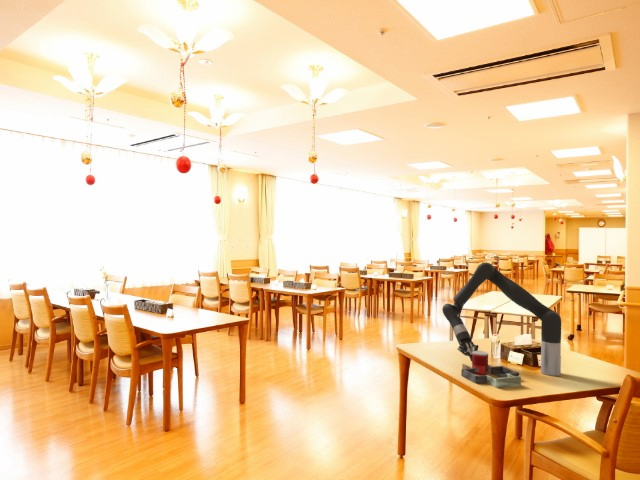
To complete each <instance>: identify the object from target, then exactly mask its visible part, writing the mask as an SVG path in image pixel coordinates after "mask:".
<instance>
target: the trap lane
mask: <svg viewBox="0 0 640 480" xmlns="http://www.w3.org/2000/svg"><path fill="white" fill-rule="evenodd" d="M461 366H462V369H461V375H460V376H461V377H463V378H464V379H466V380H469V381H470V382H473V384H477V385H479V384H489V385H490V386H493V387H494V388H496V389H504V388H506V387H507V388H514V387H521V385H522V376H520V372H518V371H515V370H513V369H511V368H508V367H506V366H504V365H497V366H492V365H491V364H488V373H490V374H491V375H494V376H495V377H497V378H495V377H493V376H491V375H488V374H487V375H477V374H475V369H474V368H472V366H469V365H467V364H465V363H462V364H461Z"/></svg>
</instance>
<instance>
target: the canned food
mask: <svg viewBox="0 0 640 480" xmlns="http://www.w3.org/2000/svg"><path fill="white" fill-rule="evenodd" d="M488 365H489V353H488V351H483V350H478V351H473V352H472V361H471V367H472V368H474V369H475V375H476V376H481V375H488V373H489V372H488Z"/></svg>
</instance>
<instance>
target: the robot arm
mask: <svg viewBox="0 0 640 480" xmlns="http://www.w3.org/2000/svg"><path fill="white" fill-rule="evenodd" d="M486 280H487V281H489V282H491V283H492V284H493V285H495V286H496V287H497V288H498V289H499V290H500V291H501V293H503V294H504V295H505V296H506V297H507V298H508V299H509V300H510V301H512V302H513V303H514V304H516V305H517V306H519V307H521V308H523V310H524V309H525V310H526V311H528V312H530V313H531V314H533V315H534V316H535V317H536V318H537V319H538V320H540V321H541V326H540V327H541V336H540V337H541V340H540V342H541V343H540V345H541V346H540V347H541V349H540V373H542V374H544V375H547V376H552V377H557V376H558V377H560V376H561V373H562V372H561V371H562V370H561V368H562V355H561V354H562V353H561V352H562V351H561V350H562V349H561V347H562V345H561V344H562V317H561V316H560V314H559V313H558V312H556V311H555V310H554V309H551V308H549V307H548V306H546V305H544V304H543V303H542V302H540V301H539V300H538V299H537V298H536V297H535V296H533V295H532V294H531V293H530V292H529V291H527V290H526V289H525V288H524V287H522V286H520V285H519V283H517V282H515V281H513V280H511V278H509V277H507V276H506V275H504V274H503V273H502V272H500V271H499V270H498V269H497V268H496V267H495V266H494V265H493V264H491V263H490V262H482V263H480V264H478V265H477V267H476V269H475V271H474V272H473V274H472V276H471V277H470V278H469V279H468V281H467V283H465V284H464V285H463V286H462V288H460V289H459V291H458V292H457V293H456V294H455V296H454V297H453V302H454V303H453V304H451V303H444V305H443V306H442V308H441V309H442V313H443V316H444V317H445V319H446V320H447V321H448V322H449V324H450V326H451V328H452V331H453V334H454V336H455V339H456V340H457V343H458V344H459V346H458V347H457V350H458V351H459V352H460V353H461V354H463V355H464V356H466V357H467V356H468V357H469V360H470V361H471V362H472V352H473V351H479V344H475V343H474V342H473V341H472V336H471V335H470V333H469V331H468V329H467V327H466V326H465V324H464V321H463V319H462V318H461V317H460V316H459V315H460V314H461V312H462V310H463V309H464V305H466V303H467V302H468V301H469V299H471V297H472V296H473V295H474V293H475V292H476V291H477V289H478V288H479V287H480V286H481V285H482V284H483V283H484V282H486Z"/></svg>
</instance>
